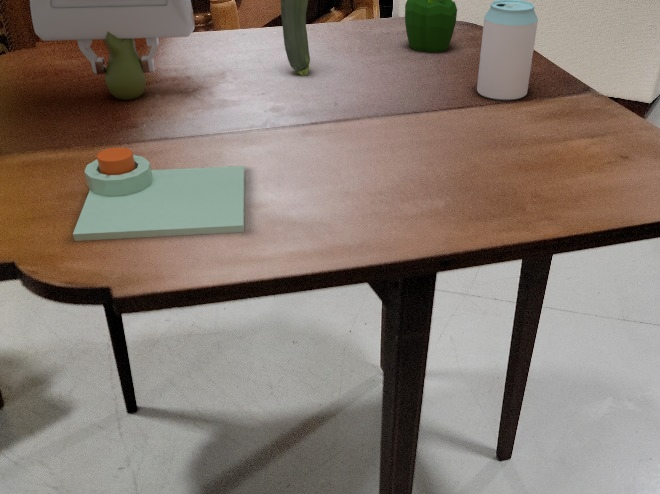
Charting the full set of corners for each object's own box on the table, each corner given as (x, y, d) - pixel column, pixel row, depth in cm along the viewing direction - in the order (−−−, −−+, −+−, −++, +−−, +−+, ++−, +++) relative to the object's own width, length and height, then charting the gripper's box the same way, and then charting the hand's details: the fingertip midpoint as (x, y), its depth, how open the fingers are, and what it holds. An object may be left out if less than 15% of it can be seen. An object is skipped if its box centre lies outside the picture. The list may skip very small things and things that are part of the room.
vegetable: (281, 79, 109) (272, -76, 96) (287, 70, 112) (279, -81, 100) (310, 80, 108) (305, -75, 96) (316, 72, 112) (311, -80, 99)
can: (480, 104, 101) (490, 10, 93) (472, 87, 106) (481, -3, 99) (531, 104, 101) (545, 10, 93) (520, 87, 106) (533, -3, 99)
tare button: (97, 178, 75) (94, 162, 74) (103, 163, 78) (99, 148, 77) (133, 176, 76) (130, 160, 75) (137, 162, 78) (134, 146, 77)
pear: (153, 101, 101) (140, 24, 95) (115, 108, 99) (98, 29, 92) (141, 90, 105) (128, 15, 98) (104, 96, 102) (88, 20, 96)
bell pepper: (398, 44, 124) (400, -21, 117) (445, 42, 125) (450, -23, 119) (410, 59, 117) (413, -10, 111) (459, 56, 118) (465, -12, 112)
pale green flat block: (72, 245, 70) (65, 216, 68) (96, 181, 81) (90, 155, 79) (244, 236, 71) (241, 208, 69) (244, 174, 82) (242, 149, 80)
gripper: (9, -36, 87) (40, 82, 96) (183, -39, 89) (198, 77, 98) (22, -46, 92) (50, 67, 101) (187, -49, 94) (201, 62, 103)
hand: (125, 72), depth 99 cm, fingers closed on pear, 5 cm apart
